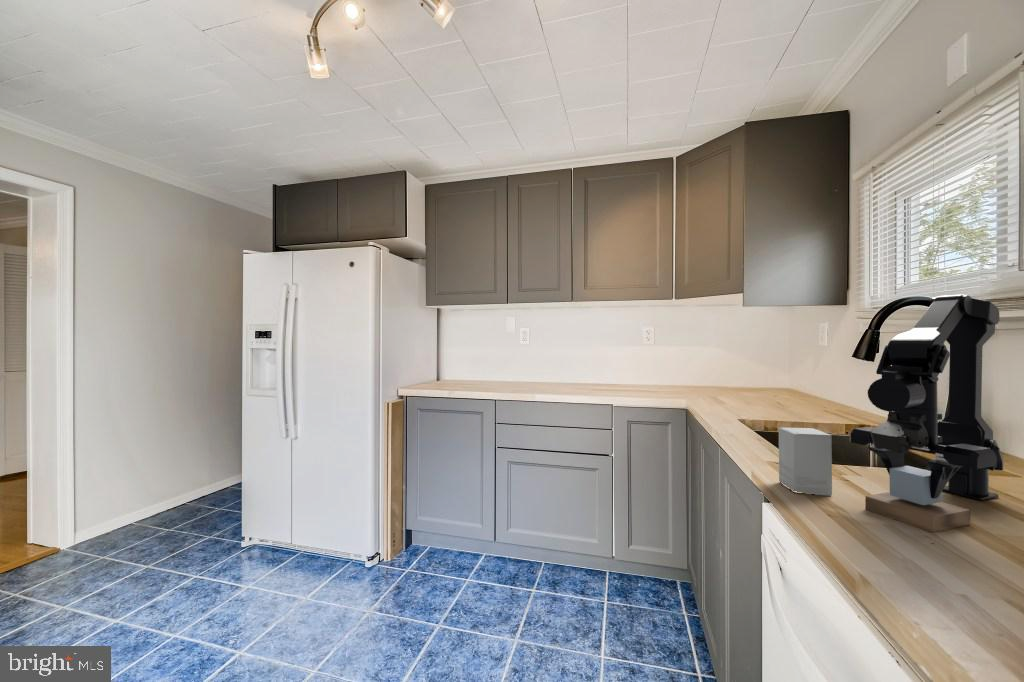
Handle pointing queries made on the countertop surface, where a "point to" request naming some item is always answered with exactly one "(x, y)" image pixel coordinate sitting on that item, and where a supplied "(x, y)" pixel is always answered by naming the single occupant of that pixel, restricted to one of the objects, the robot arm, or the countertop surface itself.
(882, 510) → the walnut slab
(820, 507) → the countertop surface
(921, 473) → the slate block
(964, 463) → the robot arm
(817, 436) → the supplement box
